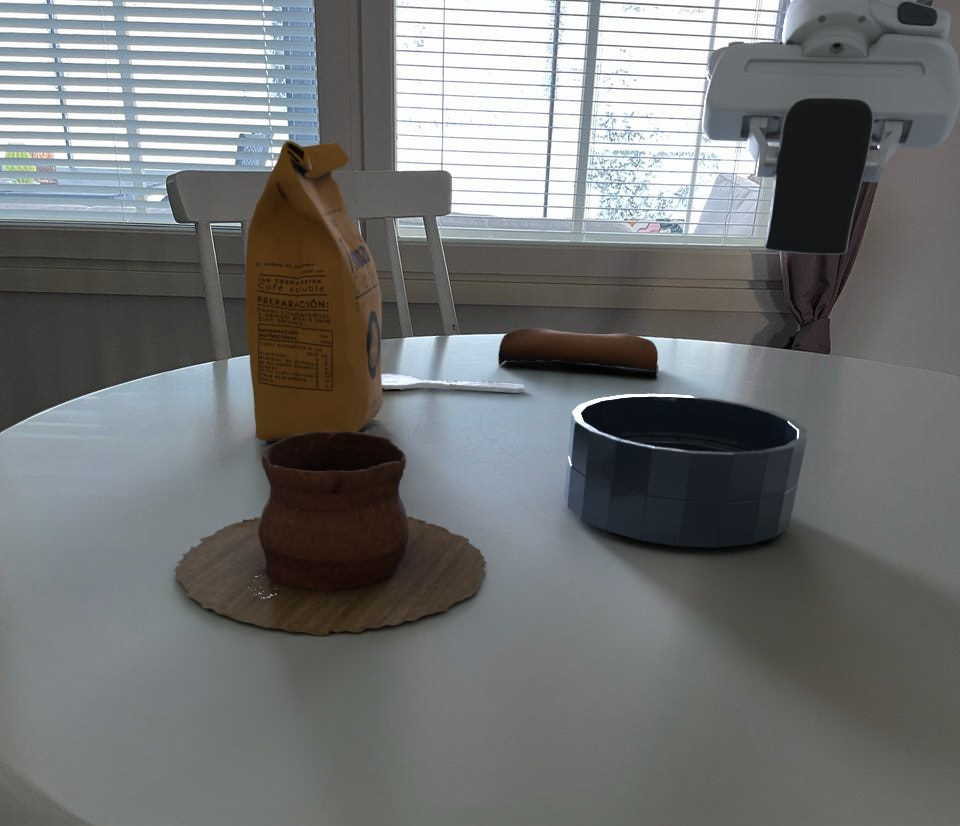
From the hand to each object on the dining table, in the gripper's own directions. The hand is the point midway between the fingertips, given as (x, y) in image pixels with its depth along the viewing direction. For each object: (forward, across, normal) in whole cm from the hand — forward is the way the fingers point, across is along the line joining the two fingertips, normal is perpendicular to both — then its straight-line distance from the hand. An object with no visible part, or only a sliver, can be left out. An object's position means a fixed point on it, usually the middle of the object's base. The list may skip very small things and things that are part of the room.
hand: (818, 173), depth 77 cm
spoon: (+12, -34, +18) cm, 40 cm away
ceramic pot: (+45, -26, -15) cm, 54 cm away
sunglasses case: (+1, -21, +30) cm, 36 cm away
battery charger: (+4, 0, +5) cm, 6 cm away
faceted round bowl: (+34, -7, -4) cm, 35 cm away
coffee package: (+26, -38, +4) cm, 46 cm away
